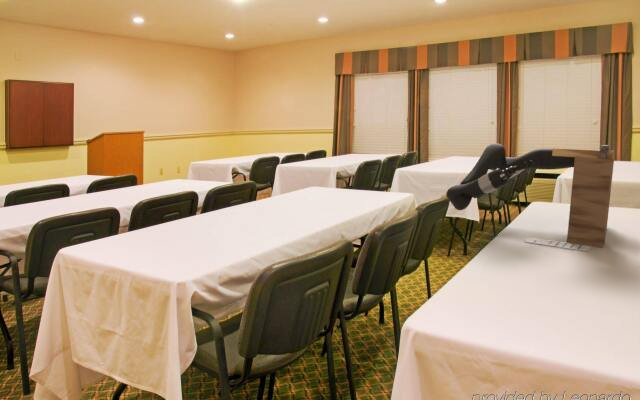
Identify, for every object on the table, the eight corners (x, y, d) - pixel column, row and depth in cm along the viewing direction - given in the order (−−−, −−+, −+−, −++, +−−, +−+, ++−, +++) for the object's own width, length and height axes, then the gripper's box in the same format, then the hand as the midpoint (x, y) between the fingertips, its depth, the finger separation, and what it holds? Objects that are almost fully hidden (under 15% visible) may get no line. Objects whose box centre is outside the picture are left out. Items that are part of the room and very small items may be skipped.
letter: (530, 238, 199) (530, 237, 199) (590, 247, 186) (591, 246, 186) (524, 242, 192) (524, 241, 192) (586, 251, 180) (586, 250, 180)
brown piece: (569, 239, 197) (578, 144, 191) (605, 244, 190) (615, 145, 184) (566, 242, 193) (575, 144, 186) (602, 247, 186) (613, 146, 179)
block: (553, 155, 195) (554, 147, 195) (613, 158, 183) (614, 150, 183) (552, 155, 193) (552, 148, 193) (612, 159, 181) (613, 151, 181)
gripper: (502, 187, 214) (539, 170, 204) (490, 191, 202) (528, 173, 193) (494, 171, 215) (530, 153, 205) (482, 174, 204) (519, 155, 194)
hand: (529, 163), depth 199 cm, fingers open, 8 cm apart
